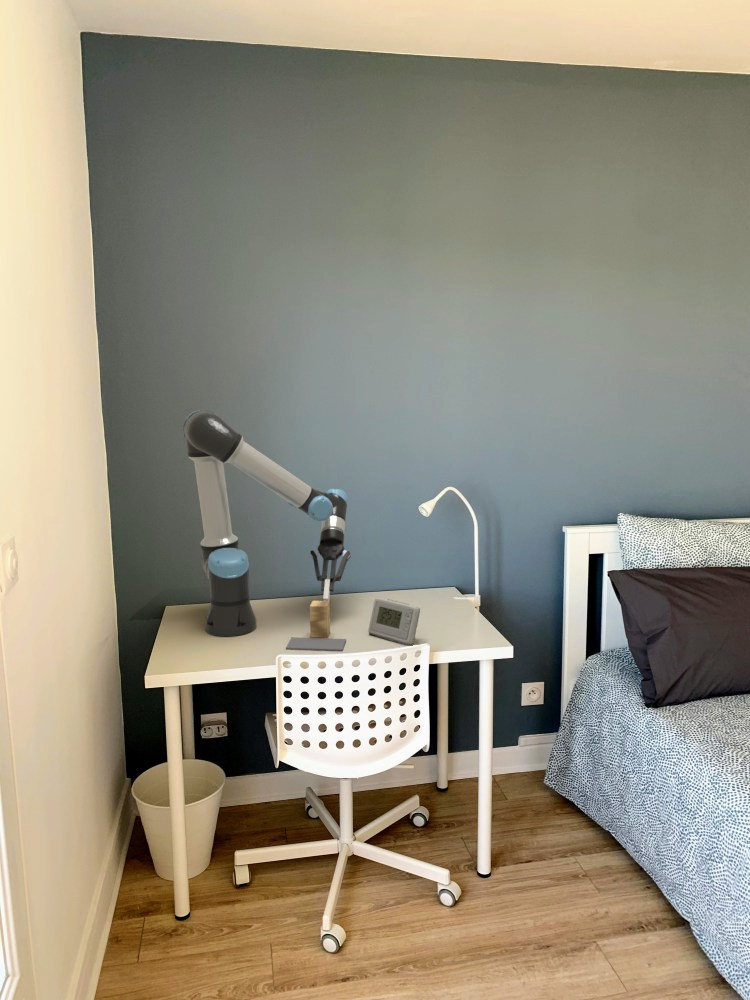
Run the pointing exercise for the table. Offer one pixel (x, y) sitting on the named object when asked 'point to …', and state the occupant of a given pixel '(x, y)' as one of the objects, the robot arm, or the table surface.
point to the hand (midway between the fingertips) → (326, 600)
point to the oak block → (320, 619)
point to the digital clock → (394, 620)
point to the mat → (316, 644)
